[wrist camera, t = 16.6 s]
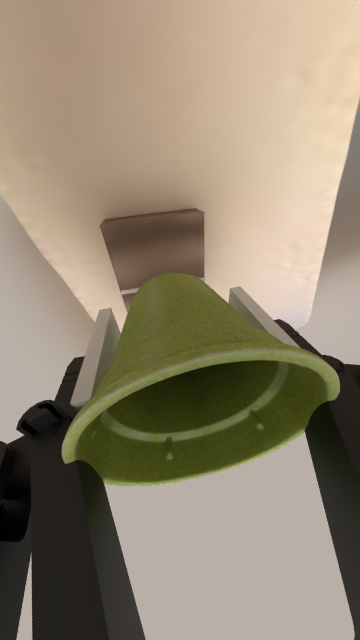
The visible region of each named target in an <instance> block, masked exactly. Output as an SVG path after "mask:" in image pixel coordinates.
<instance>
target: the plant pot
mask: <svg viewBox="0 0 360 640" xmlns="http://www.w3.org/2000/svg"><path fill="white" fill-rule="evenodd" d="M339 392H340V381H339V377H338V375H337V373H336V371H335V370H334V369H333V368H332V367H331V366H330V365H329V364H328V363H327V362H326V361H324V360H323V359H322V358H320V357H319V356H317V355H315V354H313V353H311V352H309V351H307V350H305V349H302V348H298V347H295V346H292V345H287V344H284V343H283V342H282V341H280V340H279V339H278V338H276V337H274V336H273V335H271V334H269V333H267V332H265V331H262V330H259V329H258V328H256V327H255V326H254V325H253V324H252V323H250V322H249V321H248V320H247V319H246V318H244V317H243V316H242V315H241V314H240V313H239V312H237V311H236V310H235V309H234V308H233V307H232V306H231V305H229V304H228V303H227V302H226V301H225V300H224V299H222V298H221V297H220V296H219V295H218V294H217V293H216V292H215V291H214V290H213V289H211V288H210V287H209V286H208V285H207V284H206V283H205V282H203V281H202V280H201V279H199V278H198V277H196V276H193V275H188V274H181V273H165V274H161V275H158V276H156V277H154V278H152V279H150V280H148V281H147V282H146V283H144V284H143V285H142V286H141V287H140V288H139V289H138V291H137V292H136V293H135V295H134V297H133V299H132V302H131V304H130V308H129V311H128V314H127V317H126V320H125V324H124V327H123V330H122V333H121V336H120V339H119V341H118V344H117V347H116V351H115V354H114V356H113V359H112V362H111V365H110V368H109V371H108V372H107V373H106V374H105V375H104V377H103V378H102V380H101V381H100V383H99V385H98V387H97V389H96V392H95V394H94V397H93V398H92V399H91V400H90V401H89V402H88V403H87V404H86V405H85V406H84V407H83V408H82V409H81V410H80V411H79V413H78V414H77V415H76V416H75V418H74V419H73V421H72V423H71V424H70V426H69V428H68V431H67V433H66V436H65V439H64V441H63V444H62V458H63V461H64V462H65V464H67V463H71V462H73V461H75V460H82V461H85V462H87V463H89V464H90V465H91V466H92V467H93V468H94V469H95V470H96V472H97V473H98V474H99V475H100V477H101V478H102V479H103V482H104V484H107V485H117V486H136V485H139V486H149V485H160V484H166V483H173V482H180V481H185V480H189V479H193V478H198V477H202V476H206V475H210V474H213V473H217V472H220V471H223V470H227V469H230V468H233V467H236V466H239V465H241V464H244V463H247V462H249V461H252V460H254V459H257V458H260V457H262V456H264V455H267V454H269V453H271V452H273V451H275V450H277V449H278V448H280V447H282V446H284V445H285V444H287V443H289V442H290V441H292V440H294V439H295V438H297V437H298V436H300V435H301V434H302V433H304V432H305V428H306V426H307V424H308V422H309V419H310V417H311V415H312V413H313V412H314V410H315V409H316V408H317V407H318V406H319V405H320V404H322V403H324V402H326V401H332V400H335V399H336V398H337V396H338V394H339Z"/></svg>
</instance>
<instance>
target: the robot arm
mask: <svg viewBox="0 0 360 640" xmlns="http://www.w3.org/2000/svg"><path fill="white" fill-rule="evenodd" d="M229 305H231V306H232V307H233V308H234V309H235V310H236V311H237V312H239V313H240V314H241V315H242V316H243V317H244V318H246V319H247V320H248V321H249V322H250V323H252V324H253V325H254V326H255V327H256V328H258V329H259V330H262V331H265V332H267V333H269V334H271V335H273V336H274V337H276V338H278V339H279V340H280V341H282V342H283V343H284V344H287V345H292V346H295V347H298V348H302V349H305V350H307V351H309V352H311V353H313V354H315V355H317V356H319V357H320V358H322V359H323V360H324V361H326V362H327V363H328V364H329V365H330V366H331V367H332V368H333V369H334V370H335V371H336V373H337V375H338V377H339V381H340V392H339V394H338V396H337V398H336V399H335V400H332V401H326V402H324V403H322V404H320V405H319V406H318V407H317V408H316V409H315V410H314V412H313V413H312V415H311V417H310V419H309V422H308V424H307V426H306V428H305V434H306V438H307V441H308V445H309V449H310V453H311V457H312V461H313V465H314V469H315V473H316V477H317V481H318V485H319V488H320V493H321V497H322V501H323V505H324V509H325V513H326V517H327V521H328V525H329V528H330V533H331V536H332V540H333V544H334V548H335V552H336V556H337V560H338V564H339V568H340V572H341V576H342V580H343V584H344V588H345V592H346V596H347V599H348V604H349V608H350V612H351V616H352V620H353V625H354V631H355V639H354V640H360V365H351V364H344V363H342V362H341V361H340V360H338V359H336V358H333V357H332V356H327V355H321V354H320V353H319V352H318V351H317V350H316V349H315V348H314V347H313V346H311V345H310V344H309V343H308V342H307V341H306V340H305V339H304V338H303V337H302V336H300V334H299V333H298V332H296V331H295V330H294V329H293V328H292V327H291V326H290V325H289V324H288V323H286V322H284V321H282V320H280V319H278V320H273V319H272V318H271V317H270V316H269V315H268V314H267V313H266V312H265V311H264V310H263V309H262V308H261V307H260V306H259V305H258V304H257V303H256V302H255V301H254V300H253V299H252V298H251V297H250V296H249V295H248V294H247V293H246V292H245V291H244V290H243V289H242V288H241V287H235V288H230V295H229ZM120 336H121V333H120V330H119V328H118V325H117V323H116V320H115V317H114V315H113V312H112V309H111V308H109V309H103V310H99V313H98V316H97V320H96V323H95V326H94V329H93V332H92V335H91V339H90V342H89V345H88V348H87V352H86V354H85V356H84V357H78V358H74V359H73V361H72V362H71V363H70V364H69V366H68V367H67V370H66V372H65V376H64V378H63V380H62V384H61V385H60V388H59V390H58V393H57V395H56V398H55V400H54V401H52V400H44V401H42V402H39V403H37V404H35V405H34V406H33V407H31V408H30V409H29V410H27V411H26V412H25V413H24V414H23V416H22V417H21V419H20V420H19V422H18V425H17V428H16V429H17V430H18V431H19V432H21V433H22V434H24V436H22V437H21V438H19V439H17V440H15V441H13V442H11V443H9V444H6V443H4V442H1V441H0V640H16V638H17V632H18V626H19V620H20V614H21V608H22V602H23V597H24V591H25V585H26V579H27V574H28V568H29V562H30V556H31V551H32V633H33V634H32V636H33V637H32V638H33V640H145V636H144V632H143V628H142V625H141V621H140V617H139V614H138V610H137V606H136V602H135V598H134V595H133V591H132V587H131V584H130V580H129V576H128V572H127V568H126V565H125V561H124V557H123V553H122V550H121V546H120V542H119V538H118V535H117V531H116V527H115V523H114V520H113V516H112V512H111V508H110V505H109V501H108V497H107V493H106V490H105V486H104V482H103V479H102V478H101V477H100V475H99V474H98V473H97V472H96V470H95V469H94V468H93V467H92V466H91V465H90V464H89V463H87V462H85V461H82V460H75V461H73V462H71V463H67V464H65V462H64V461H63V458H62V444H63V441H64V439H65V436H66V433H67V431H68V428H69V426H70V424H71V423H72V421H73V419H74V418H75V416H76V415H77V414H78V413H79V411H80V410H81V409H82V408H83V407H84V406H85V405H86V404H87V403H88V402H89V401H90V400H91V399H92V398H93V397H94V394H95V392H96V389H97V387H98V385H99V383H100V381H101V380H102V378H103V377H104V375H105V374H106V373H107V372H108V371H109V368H110V365H111V362H112V359H113V356H114V354H115V351H116V347H117V344H118V341H119V339H120Z"/></svg>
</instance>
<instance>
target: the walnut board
mask: <svg viewBox="0 0 360 640" xmlns="http://www.w3.org/2000/svg"><path fill="white" fill-rule="evenodd" d="M100 228H101V231H102V234H103V237H104V240H105V244H106V247H107V250H108V253H109V256H110V259H111V262H112V265H113V269H114V272H115V275H116V278H117V281H118V284H119V287H120V291H121V294H122V297H123V300H124V303H125V306H126V309H127V312H128V311H129V308H130V304H131V302H132V299H133V297H134V295H135V293H136V292H137V291H138V289H139V288H140V287H141V286H142V285H143V284H144V283H146V282H147V281H148V280H150V279H152V278H154V277H156V276H158V275H161V274H165V273H181V274H188V275H193V276H196V277H198V278H199V279H201V280H202V281H203V282H204V212H203V211H200V210H198V209H196V208H195V209H187V210H179V211H171V212H163V213H155V214H147V215H139V216H131V217H123V218H114V219H106V220H104V221H103V222H102V223H101V224H100Z"/></svg>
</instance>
